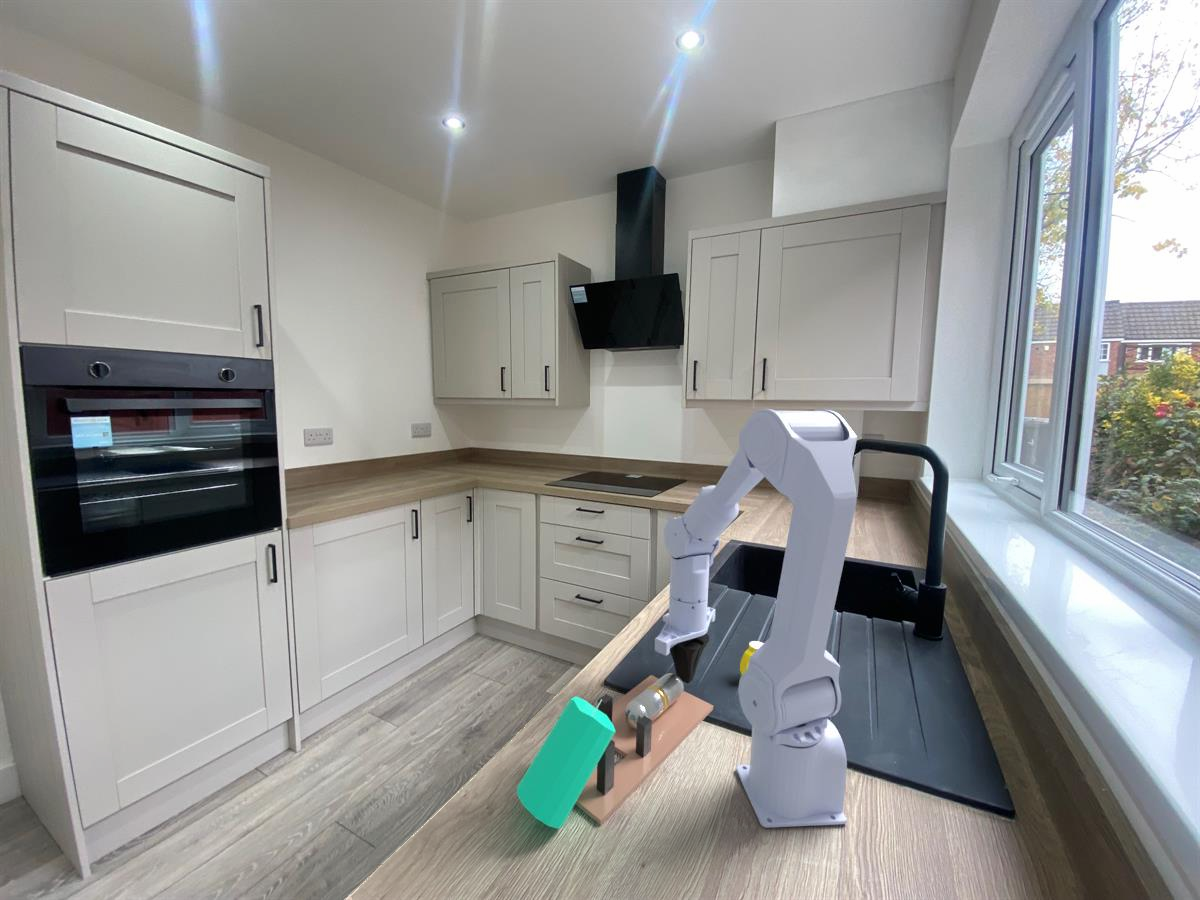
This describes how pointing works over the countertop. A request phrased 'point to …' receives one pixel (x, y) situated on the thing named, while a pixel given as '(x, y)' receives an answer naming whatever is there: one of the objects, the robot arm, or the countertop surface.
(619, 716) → the plate
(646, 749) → the black upright posts
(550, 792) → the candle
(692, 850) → the countertop surface
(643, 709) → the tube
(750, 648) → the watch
